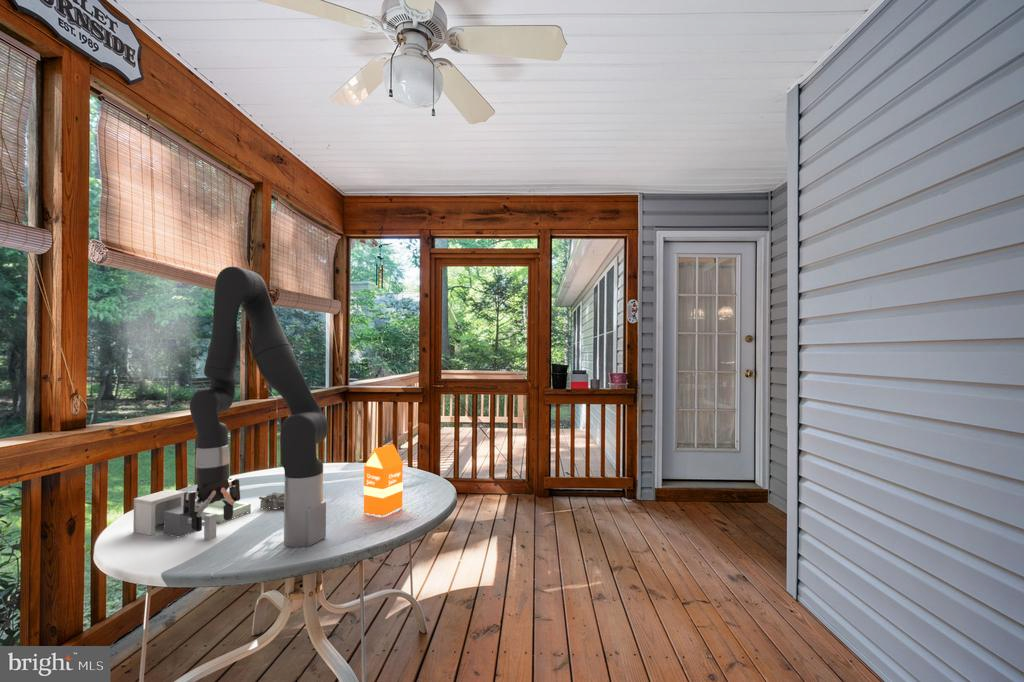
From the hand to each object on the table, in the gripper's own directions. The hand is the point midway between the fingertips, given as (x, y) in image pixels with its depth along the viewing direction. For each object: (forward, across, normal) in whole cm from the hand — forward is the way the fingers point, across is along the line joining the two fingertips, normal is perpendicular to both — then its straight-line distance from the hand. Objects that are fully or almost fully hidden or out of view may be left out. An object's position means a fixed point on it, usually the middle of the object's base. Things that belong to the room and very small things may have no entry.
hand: (213, 524), depth 124 cm
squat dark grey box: (+3, 0, +8) cm, 8 cm away
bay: (+3, 0, +20) cm, 21 cm away
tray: (+3, +13, +18) cm, 22 cm away
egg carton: (+4, +26, +4) cm, 26 cm away
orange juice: (+4, +32, -31) cm, 44 cm away
